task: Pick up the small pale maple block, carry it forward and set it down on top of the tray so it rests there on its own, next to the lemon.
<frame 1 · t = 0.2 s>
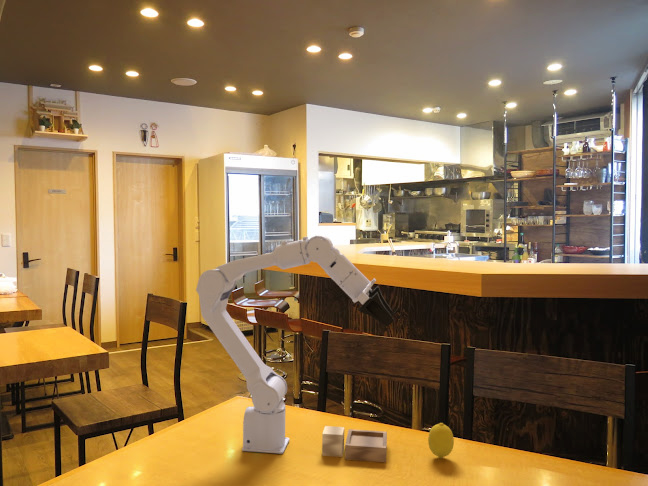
hand: (390, 320, 117), 31 cm above the table, tool tilted 45°, fingers open, 7 cm apart
lemon: (440, 459, 117), on the table
block: (333, 452, 119), on the table
tray: (366, 452, 119), on the table
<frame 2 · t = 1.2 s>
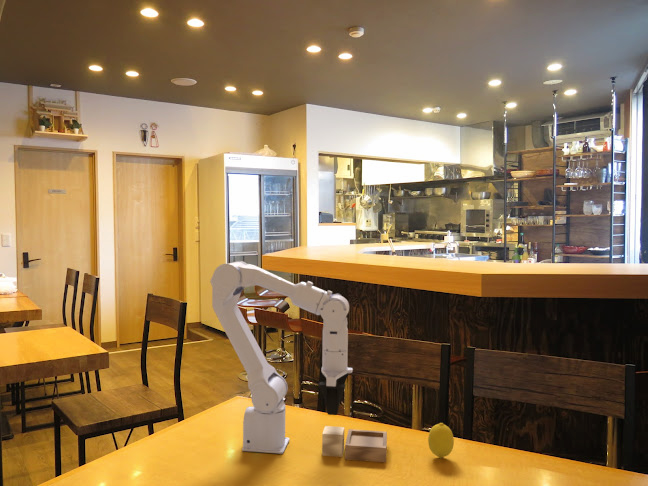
hand: (334, 408, 119), 10 cm above the table, tool pointing down, fingers open, 7 cm apart
nothing on the table moved.
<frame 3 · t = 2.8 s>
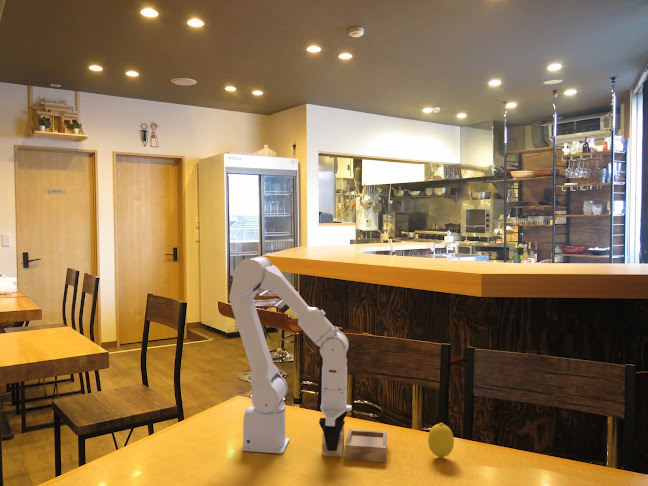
hand: (333, 445, 119), 1 cm above the table, tool pointing down, fingers closed on block, 4 cm apart
block: (333, 451, 119), on the table, touching gripper
everything else where it was.
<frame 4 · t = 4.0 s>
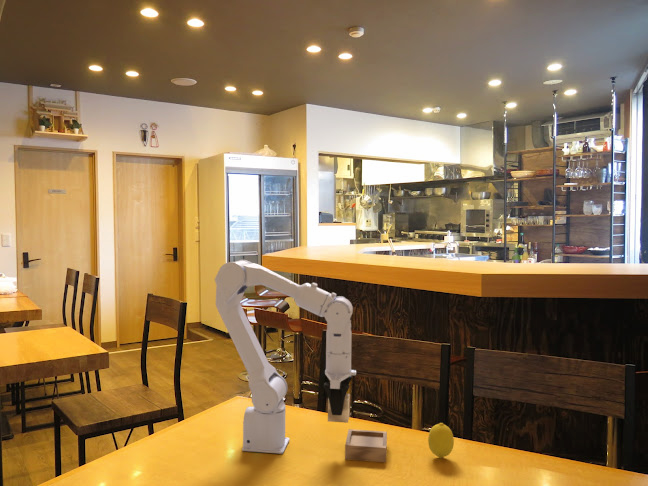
hand: (338, 410, 119), 9 cm above the table, tool pointing down, fingers closed on block, 4 cm apart
block: (338, 418, 119), point 8 cm above the table, touching gripper
everything else where it was.
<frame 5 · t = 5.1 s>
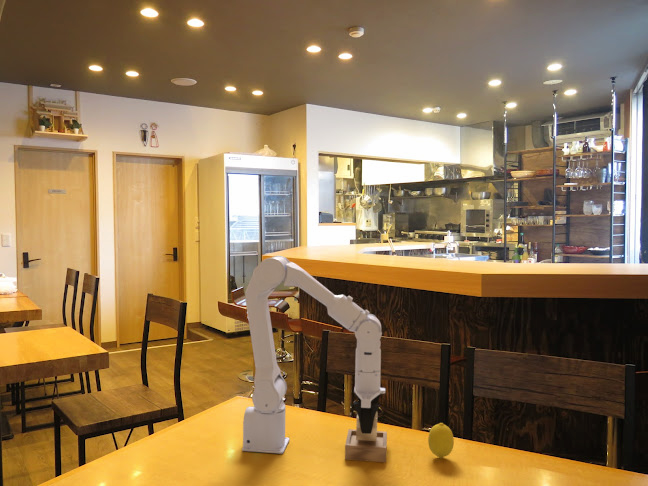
hand: (366, 428, 119), 5 cm above the table, tool pointing down, fingers closed on block, 4 cm apart
block: (366, 436, 119), point 4 cm above the table, touching gripper
everything else where it was.
when the fingers open (5 cm above the table, at t = 5.7 s): block stays where it is, resting on tray.
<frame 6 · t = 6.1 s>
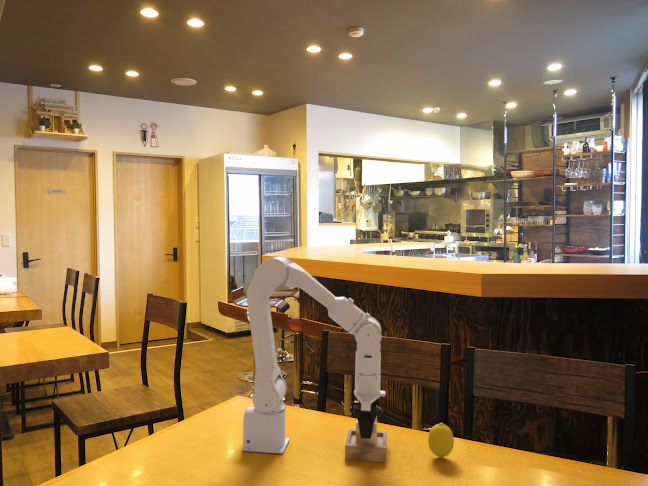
hand: (366, 431, 119), 5 cm above the table, tool pointing down, fingers open, 7 cm apart
block: (366, 441, 119), point 2 cm above the table, touching tray
everything else where it was.
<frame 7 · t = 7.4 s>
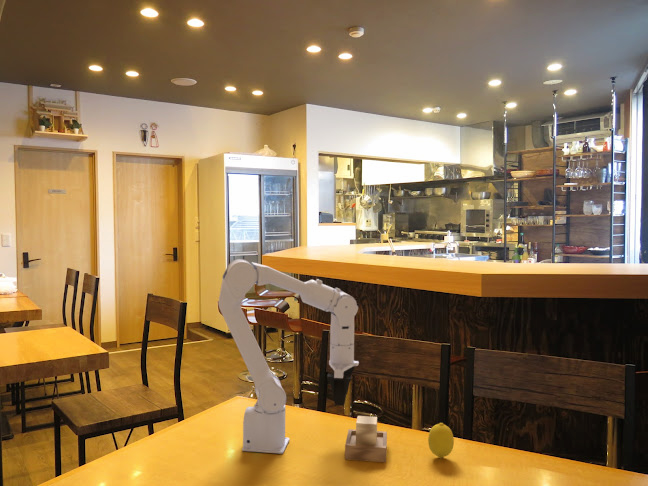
hand: (341, 399, 125), 10 cm above the table, tool pointing down, fingers open, 7 cm apart
nothing on the table moved.
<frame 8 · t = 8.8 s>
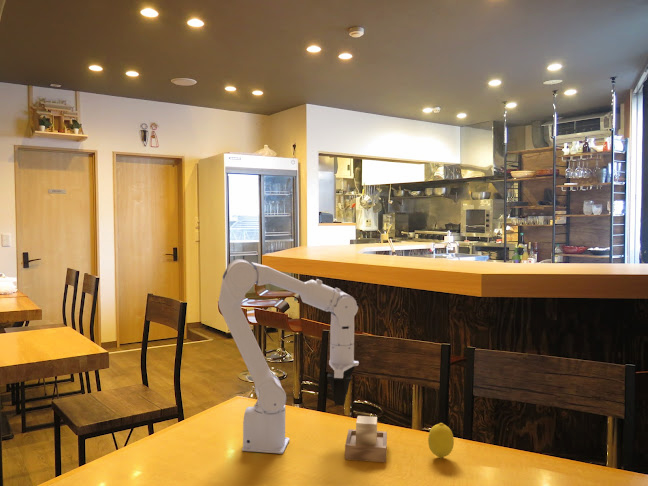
hand: (341, 399, 125), 10 cm above the table, tool pointing down, fingers open, 7 cm apart
nothing on the table moved.
at the end: block 0.0 cm off-centre on the tray, point 2.4 cm above the tray's base; block tilted 0°; block touching tray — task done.
